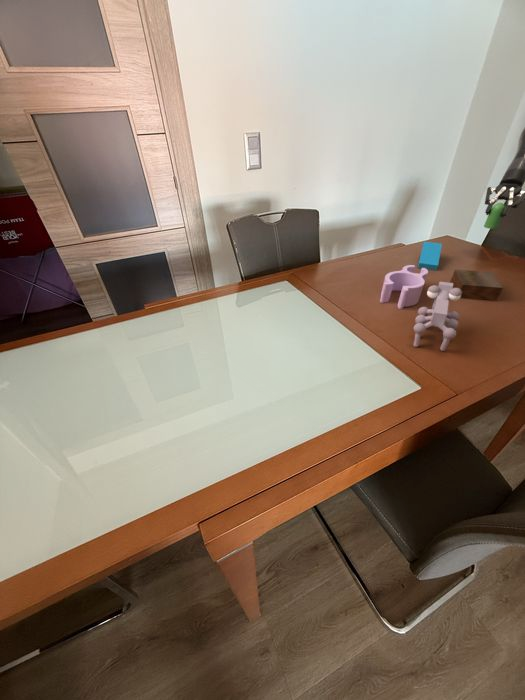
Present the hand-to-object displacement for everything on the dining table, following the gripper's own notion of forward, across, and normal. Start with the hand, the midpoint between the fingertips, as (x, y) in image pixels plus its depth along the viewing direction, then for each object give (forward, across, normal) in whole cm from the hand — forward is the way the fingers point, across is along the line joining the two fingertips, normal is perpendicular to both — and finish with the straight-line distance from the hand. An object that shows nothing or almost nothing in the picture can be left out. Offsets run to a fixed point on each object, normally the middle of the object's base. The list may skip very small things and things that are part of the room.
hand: (495, 214), depth 117 cm
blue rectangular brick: (+22, -15, +3) cm, 27 cm away
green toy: (+2, 0, +5) cm, 5 cm away
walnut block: (+34, +6, -9) cm, 36 cm away
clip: (+47, -12, -21) cm, 53 cm away
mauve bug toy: (+59, +3, -33) cm, 67 cm away
